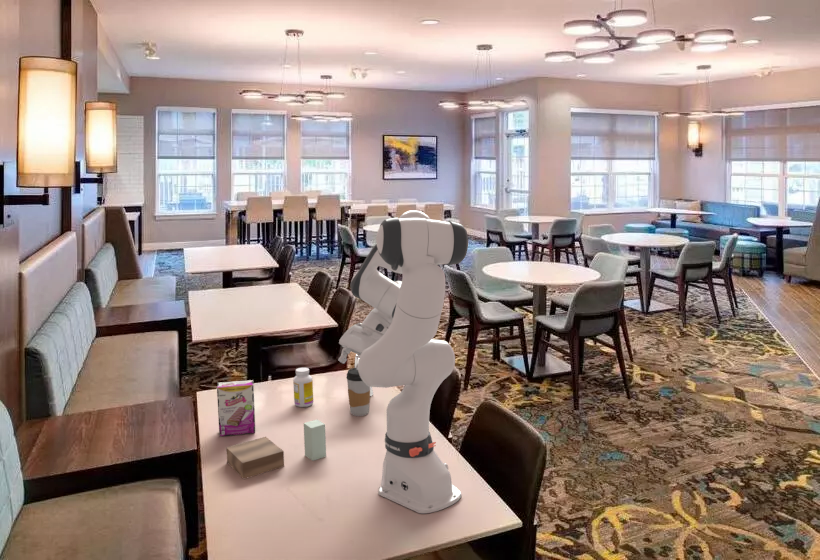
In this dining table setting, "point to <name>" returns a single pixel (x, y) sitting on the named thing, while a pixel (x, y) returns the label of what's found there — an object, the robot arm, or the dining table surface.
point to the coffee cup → (357, 393)
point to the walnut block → (255, 457)
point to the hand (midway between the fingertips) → (349, 366)
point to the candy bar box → (236, 407)
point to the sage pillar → (314, 440)
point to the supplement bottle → (303, 388)
